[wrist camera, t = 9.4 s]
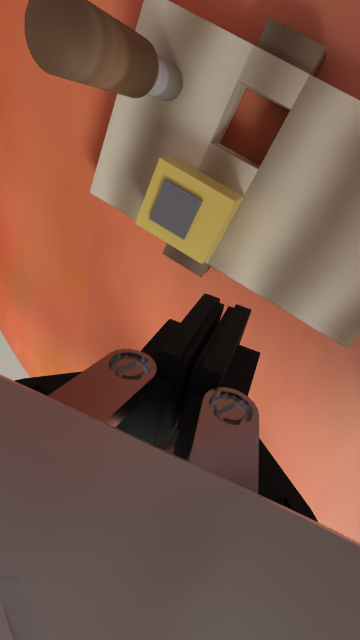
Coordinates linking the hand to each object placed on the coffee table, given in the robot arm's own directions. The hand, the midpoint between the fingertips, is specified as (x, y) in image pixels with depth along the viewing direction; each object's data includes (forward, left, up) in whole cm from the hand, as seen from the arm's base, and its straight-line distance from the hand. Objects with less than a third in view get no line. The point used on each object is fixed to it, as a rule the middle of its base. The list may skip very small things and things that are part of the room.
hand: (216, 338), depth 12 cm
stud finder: (+7, +1, -16) cm, 18 cm away
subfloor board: (+3, -2, -20) cm, 20 cm away
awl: (+12, -5, -17) cm, 21 cm away
